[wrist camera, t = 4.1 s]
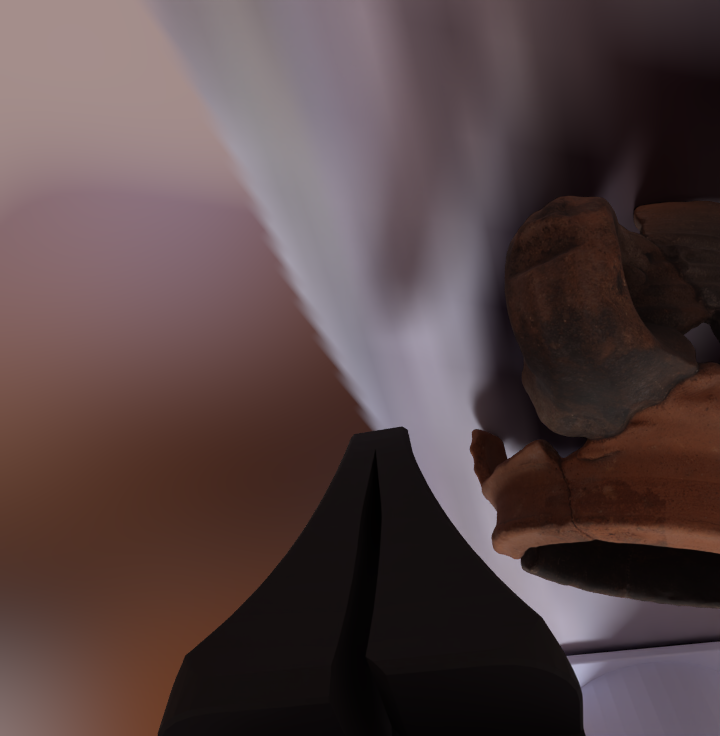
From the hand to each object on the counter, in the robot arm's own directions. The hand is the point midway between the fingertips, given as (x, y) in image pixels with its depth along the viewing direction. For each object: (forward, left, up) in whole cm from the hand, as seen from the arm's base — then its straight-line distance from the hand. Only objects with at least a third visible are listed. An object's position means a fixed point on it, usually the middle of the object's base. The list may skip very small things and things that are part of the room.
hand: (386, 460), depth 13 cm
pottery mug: (0, -6, -4) cm, 7 cm away
